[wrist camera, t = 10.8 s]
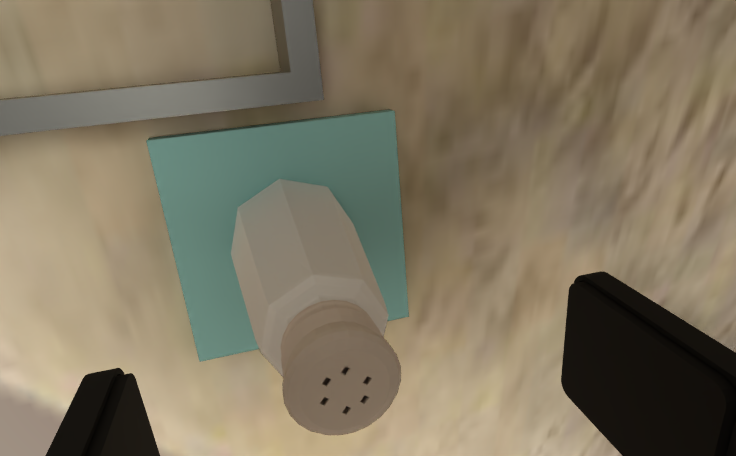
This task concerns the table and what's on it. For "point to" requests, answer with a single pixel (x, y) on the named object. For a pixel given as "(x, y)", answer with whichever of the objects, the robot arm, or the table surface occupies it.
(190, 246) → the pad
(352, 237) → the salt shaker
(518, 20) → the table surface
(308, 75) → the case
